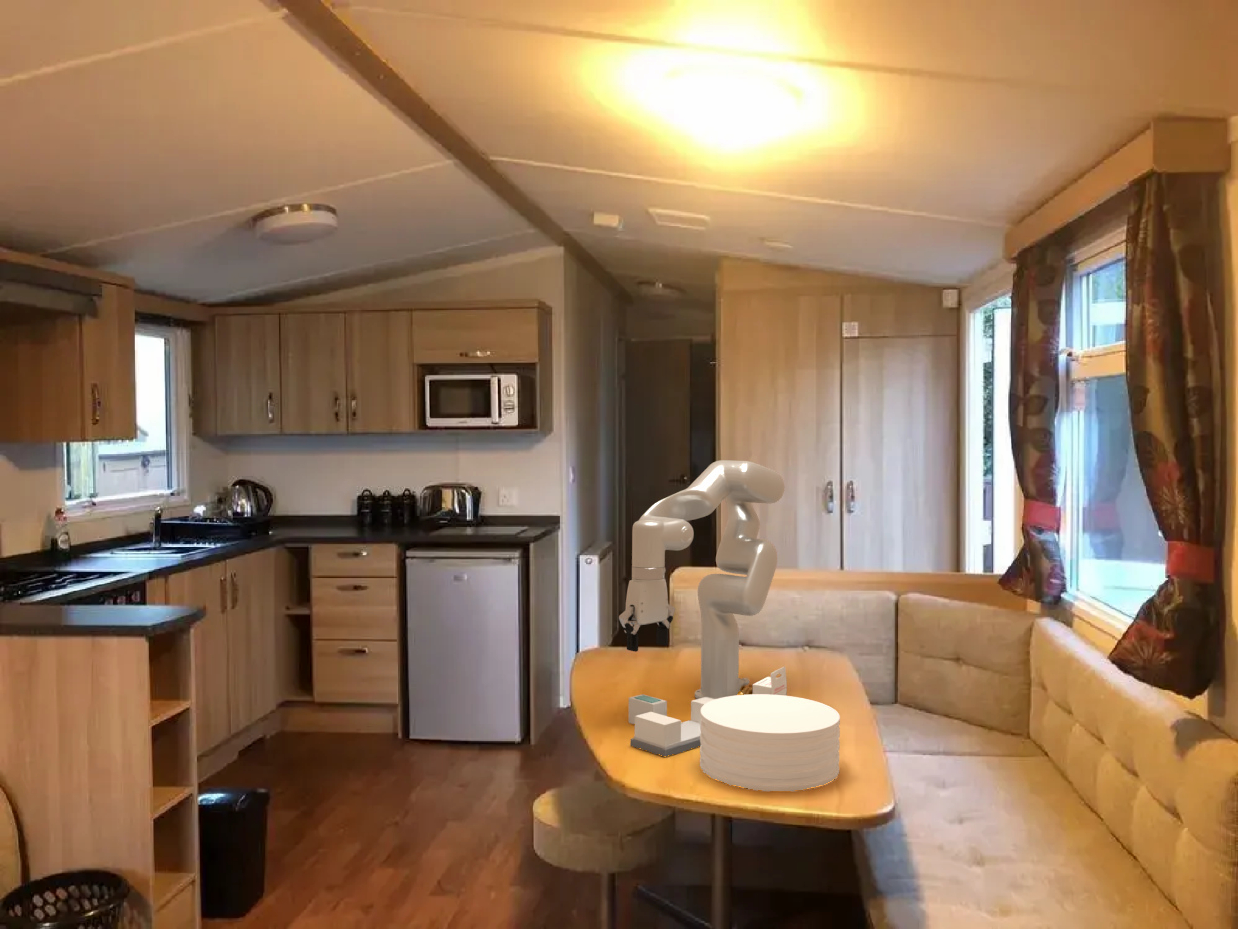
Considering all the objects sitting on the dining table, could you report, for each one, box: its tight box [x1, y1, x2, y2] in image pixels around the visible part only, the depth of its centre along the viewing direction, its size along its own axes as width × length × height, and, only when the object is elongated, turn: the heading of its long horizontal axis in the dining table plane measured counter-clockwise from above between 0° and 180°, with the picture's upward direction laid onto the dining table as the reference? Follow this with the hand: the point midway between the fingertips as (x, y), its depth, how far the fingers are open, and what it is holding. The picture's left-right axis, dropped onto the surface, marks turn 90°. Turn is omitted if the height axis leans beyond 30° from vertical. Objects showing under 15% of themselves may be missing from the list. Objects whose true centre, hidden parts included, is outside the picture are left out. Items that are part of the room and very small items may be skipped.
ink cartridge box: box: [752, 665, 788, 696], centre depth 231 cm, size 9×5×15 cm, turn 148°
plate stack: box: [699, 693, 841, 792], centre depth 208 cm, size 28×28×12 cm
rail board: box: [629, 697, 715, 757], centre depth 225 cm, size 24×10×7 cm, turn 133°
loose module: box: [628, 694, 668, 725], centre depth 237 cm, size 4×8×6 cm, turn 44°
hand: (647, 647), depth 236 cm, fingers open, 9 cm apart
